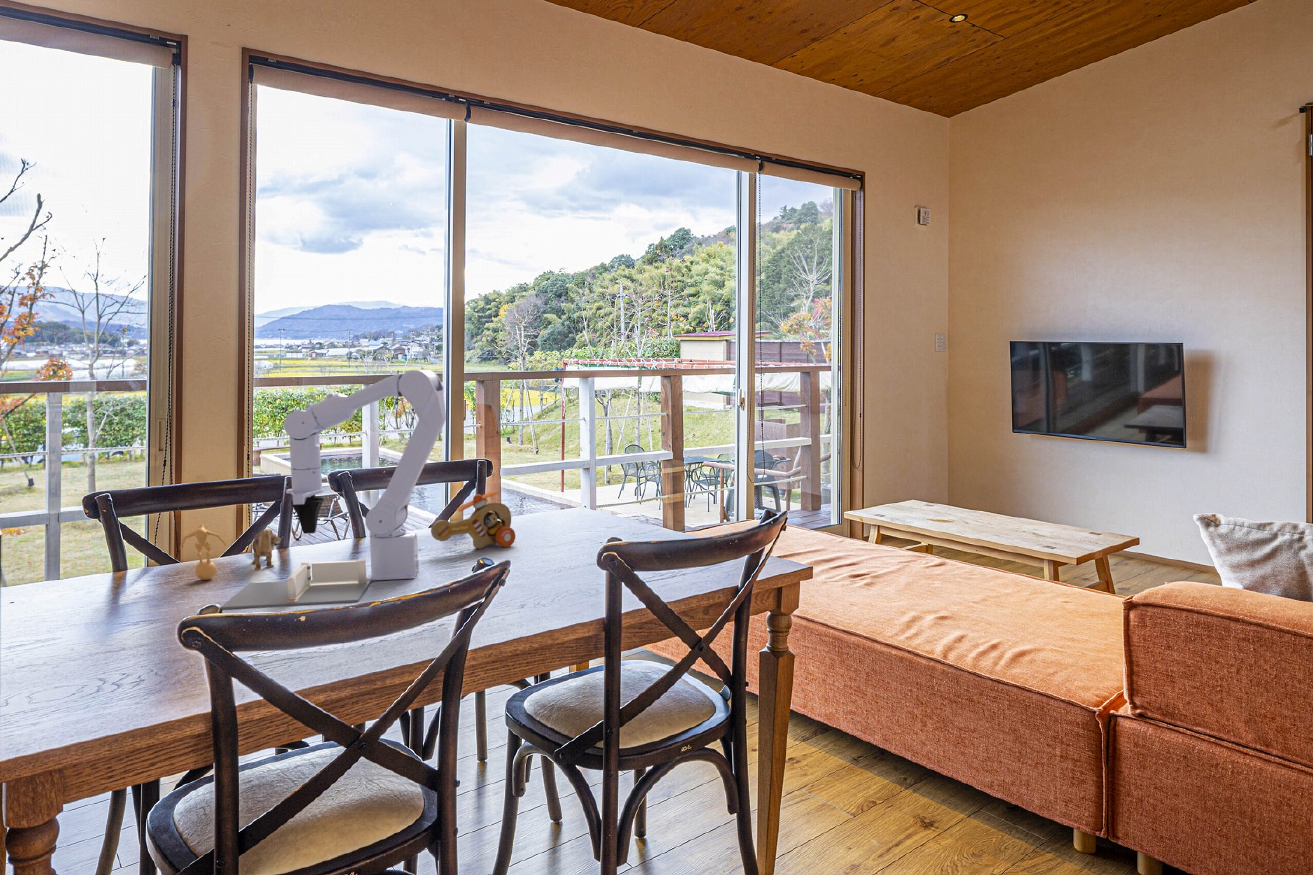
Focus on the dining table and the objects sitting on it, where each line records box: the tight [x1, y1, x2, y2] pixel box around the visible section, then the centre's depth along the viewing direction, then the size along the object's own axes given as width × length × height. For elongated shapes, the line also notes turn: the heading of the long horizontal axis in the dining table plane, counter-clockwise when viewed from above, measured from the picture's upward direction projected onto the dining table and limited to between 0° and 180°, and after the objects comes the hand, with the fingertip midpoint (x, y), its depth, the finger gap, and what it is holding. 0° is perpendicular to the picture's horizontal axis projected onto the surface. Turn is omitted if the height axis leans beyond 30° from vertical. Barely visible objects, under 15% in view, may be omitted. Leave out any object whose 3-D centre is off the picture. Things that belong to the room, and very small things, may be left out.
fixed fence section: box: [300, 559, 367, 586], centre depth 164 cm, size 12×2×5 cm, turn 99°
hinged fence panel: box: [286, 565, 308, 599], centre depth 157 cm, size 10×1×4 cm, turn 10°
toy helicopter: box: [430, 489, 516, 550], centre depth 194 cm, size 8×21×14 cm, turn 134°
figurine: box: [179, 524, 227, 581], centre depth 168 cm, size 8×6×12 cm
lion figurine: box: [251, 528, 282, 571], centre depth 181 cm, size 15×5×9 cm, turn 37°
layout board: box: [220, 576, 372, 610], centre depth 160 cm, size 24×16×1 cm, turn 99°
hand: (309, 532), depth 170 cm, fingers closed
